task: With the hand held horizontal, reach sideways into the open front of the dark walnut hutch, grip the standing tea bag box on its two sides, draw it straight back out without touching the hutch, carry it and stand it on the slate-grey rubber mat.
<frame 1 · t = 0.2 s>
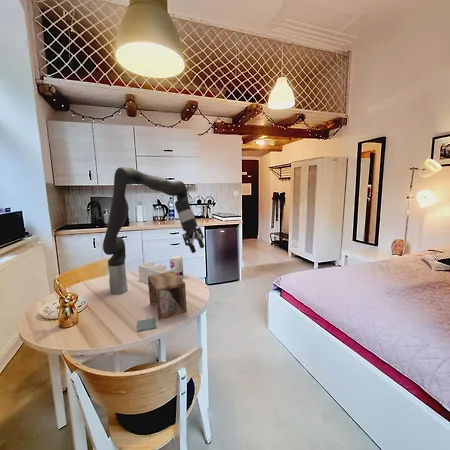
hand: (198, 250, 128), 30 cm above the table, tool tilted 20°, fingers open, 8 cm apart
hutch: (166, 308, 132), on the table
storage container: (157, 282, 167), on the table
supplement can: (177, 278, 173), on the table
tea bag: (166, 308, 132), resting in hutch
mat: (146, 325, 117), on the table
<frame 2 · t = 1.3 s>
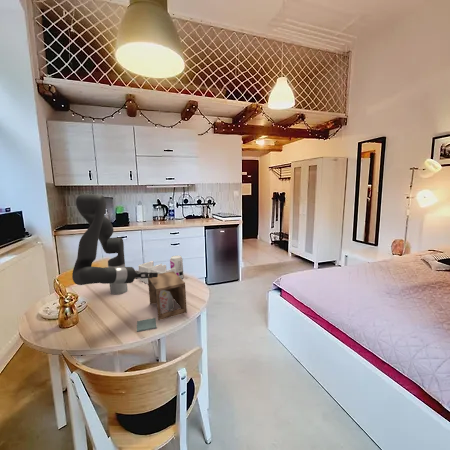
hand: (152, 274, 130), 18 cm above the table, tool tilted 75°, fingers open, 8 cm apart
nothing on the table moved.
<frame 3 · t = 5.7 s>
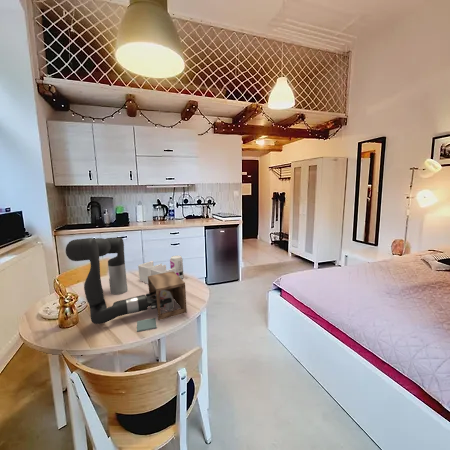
hand: (169, 296, 132), 6 cm above the table, tool horizontal, fingers open, 8 cm apart
nothing on the table moved.
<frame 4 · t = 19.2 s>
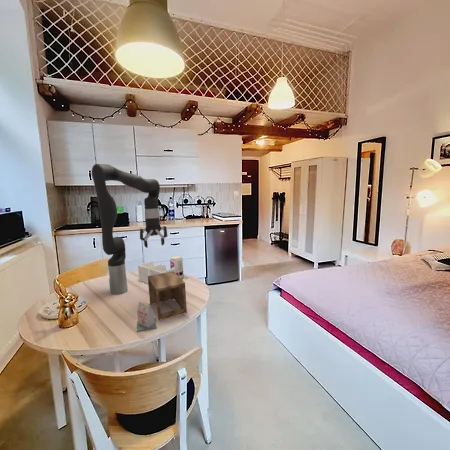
hand: (154, 246, 139), 30 cm above the table, tool pointing down, fingers open, 8 cm apart
tea bag: (146, 324, 117), resting on mat
everything else where it was.
at the end: tea bag inside the target area on the mat (0.0 cm from its centre), point 0.4 cm above the mat's base; tea bag tilted 0°; the gripper is holding nothing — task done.
